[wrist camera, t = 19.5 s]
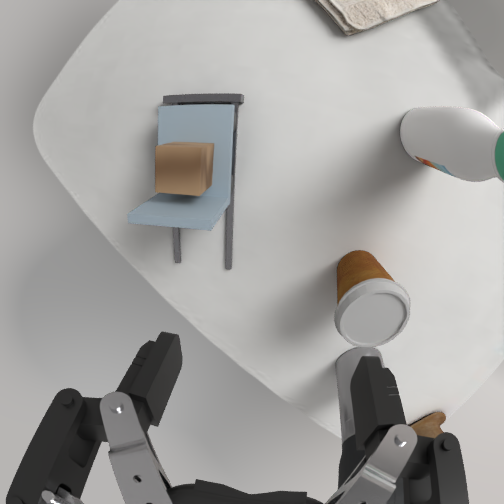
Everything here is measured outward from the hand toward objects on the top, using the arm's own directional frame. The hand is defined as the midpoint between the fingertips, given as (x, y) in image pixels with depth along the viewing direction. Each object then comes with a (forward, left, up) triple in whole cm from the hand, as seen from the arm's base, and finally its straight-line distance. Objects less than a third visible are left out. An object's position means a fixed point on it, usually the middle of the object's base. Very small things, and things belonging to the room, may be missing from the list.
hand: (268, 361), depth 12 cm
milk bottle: (+11, -18, -28) cm, 35 cm away
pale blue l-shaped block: (+5, +11, -28) cm, 31 cm away
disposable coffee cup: (-10, -12, -28) cm, 32 cm away
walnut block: (+4, +11, -24) cm, 26 cm away
